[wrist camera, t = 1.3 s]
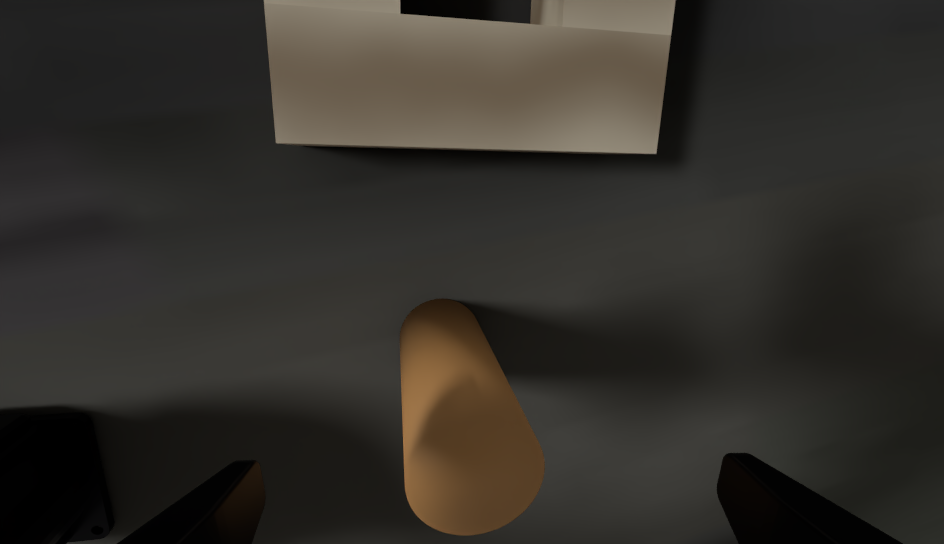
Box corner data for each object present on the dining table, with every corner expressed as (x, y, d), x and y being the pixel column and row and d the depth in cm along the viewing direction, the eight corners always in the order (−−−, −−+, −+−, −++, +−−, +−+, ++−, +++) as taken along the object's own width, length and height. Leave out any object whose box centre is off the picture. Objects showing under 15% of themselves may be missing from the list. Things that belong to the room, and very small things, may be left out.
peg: (478, 371, 23) (540, 526, 13) (400, 375, 22) (405, 543, 13) (480, 297, 22) (549, 408, 12) (398, 299, 21) (403, 419, 12)
